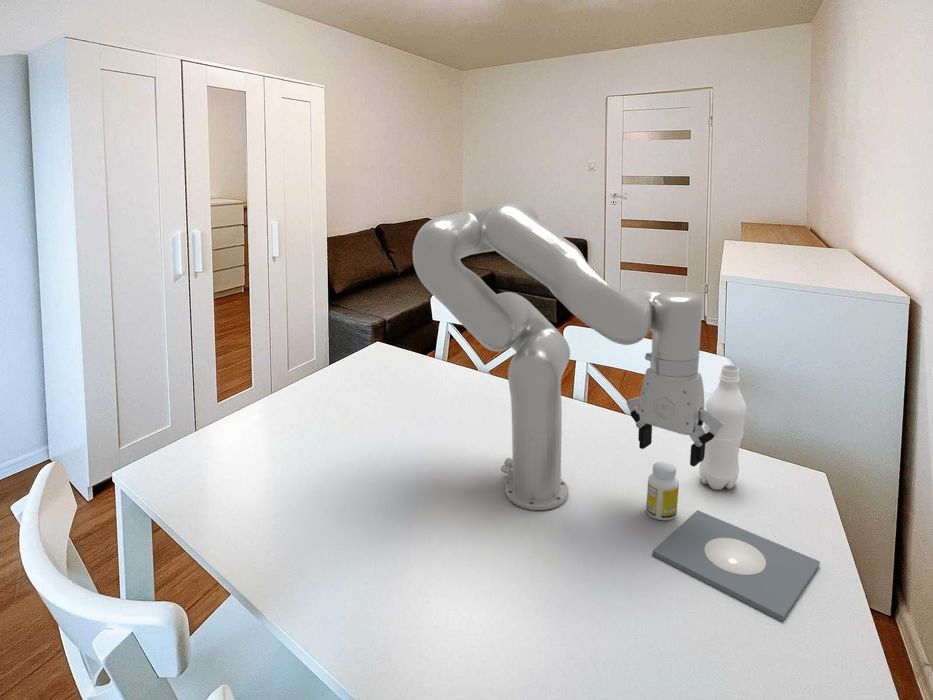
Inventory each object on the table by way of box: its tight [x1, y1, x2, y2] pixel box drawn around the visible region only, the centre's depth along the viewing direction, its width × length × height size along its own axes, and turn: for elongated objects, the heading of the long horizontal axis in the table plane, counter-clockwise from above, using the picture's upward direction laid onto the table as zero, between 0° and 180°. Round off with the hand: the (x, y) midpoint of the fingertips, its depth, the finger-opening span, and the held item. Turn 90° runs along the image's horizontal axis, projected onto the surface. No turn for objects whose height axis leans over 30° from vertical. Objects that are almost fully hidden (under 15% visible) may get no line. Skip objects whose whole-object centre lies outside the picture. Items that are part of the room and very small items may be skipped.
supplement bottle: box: [645, 460, 680, 521], centre depth 101 cm, size 5×5×10 cm
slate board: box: [651, 509, 821, 623], centre depth 89 cm, size 20×16×1 cm
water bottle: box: [698, 364, 747, 491], centre depth 107 cm, size 7×7×25 cm
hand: (669, 454), depth 98 cm, fingers open, 9 cm apart
